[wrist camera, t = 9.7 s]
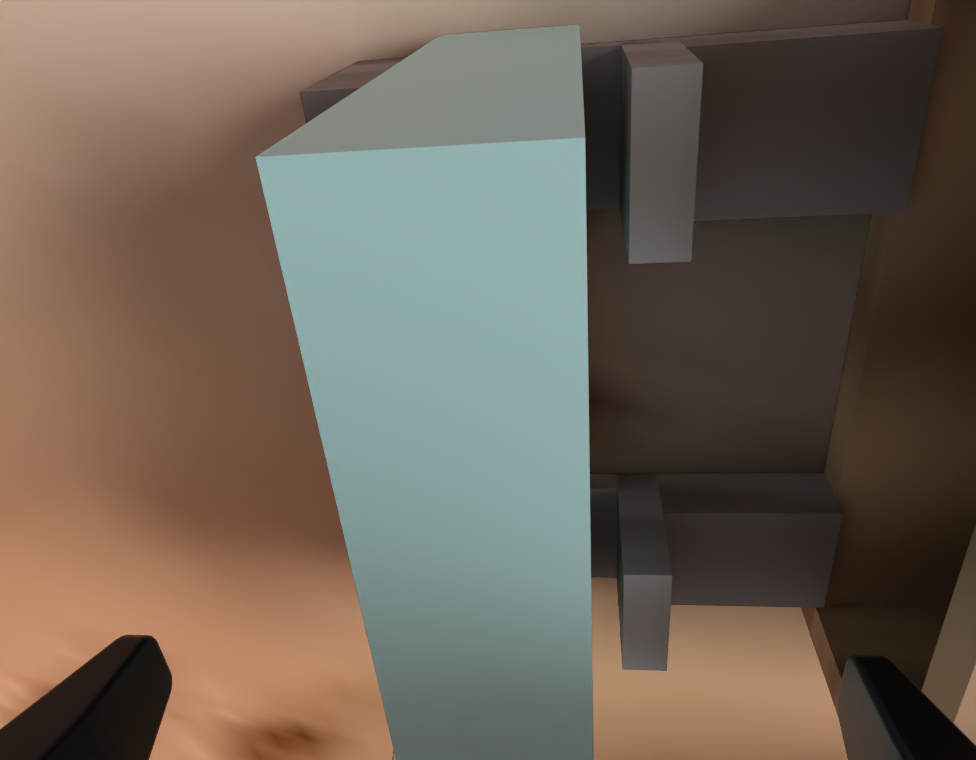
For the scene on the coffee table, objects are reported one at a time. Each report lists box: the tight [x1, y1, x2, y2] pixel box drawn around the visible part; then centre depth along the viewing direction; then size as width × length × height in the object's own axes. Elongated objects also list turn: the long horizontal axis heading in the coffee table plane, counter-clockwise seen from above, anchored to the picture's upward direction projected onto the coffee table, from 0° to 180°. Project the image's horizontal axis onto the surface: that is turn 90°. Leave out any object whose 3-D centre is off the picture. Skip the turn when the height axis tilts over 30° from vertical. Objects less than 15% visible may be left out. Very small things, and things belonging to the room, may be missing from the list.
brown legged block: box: [300, 0, 976, 745], centre depth 13 cm, size 16×18×7 cm
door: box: [255, 24, 594, 760], centre depth 13 cm, size 14×4×9 cm, turn 5°
